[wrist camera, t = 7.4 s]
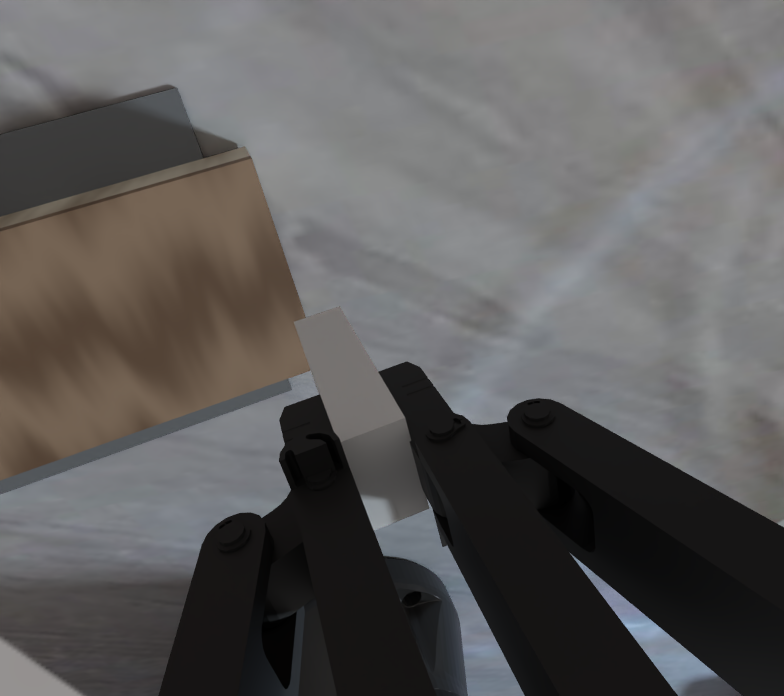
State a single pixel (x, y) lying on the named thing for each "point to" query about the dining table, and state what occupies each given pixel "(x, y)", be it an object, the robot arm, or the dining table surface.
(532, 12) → the dining table surface
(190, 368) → the birch plank
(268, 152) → the dining table surface
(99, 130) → the mat
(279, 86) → the dining table surface
